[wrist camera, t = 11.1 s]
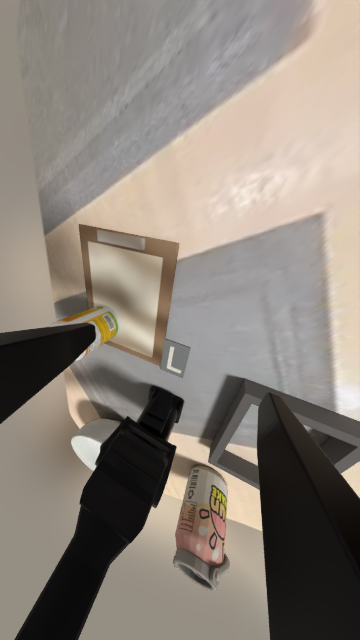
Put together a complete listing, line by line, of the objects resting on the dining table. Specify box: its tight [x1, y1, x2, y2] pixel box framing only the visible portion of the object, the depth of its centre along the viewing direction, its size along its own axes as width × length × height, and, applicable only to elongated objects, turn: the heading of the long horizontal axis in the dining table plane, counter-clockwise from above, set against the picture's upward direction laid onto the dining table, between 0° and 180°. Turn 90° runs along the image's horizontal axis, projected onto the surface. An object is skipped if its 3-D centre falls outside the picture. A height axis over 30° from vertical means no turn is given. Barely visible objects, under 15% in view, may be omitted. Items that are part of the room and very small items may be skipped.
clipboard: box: [79, 224, 179, 366], centre depth 22 cm, size 18×14×2 cm
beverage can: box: [173, 465, 230, 591], centre depth 28 cm, size 9×8×12 cm
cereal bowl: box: [71, 419, 121, 471], centre depth 36 cm, size 17×17×7 cm
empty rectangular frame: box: [208, 379, 360, 490], centre depth 22 cm, size 18×13×2 cm
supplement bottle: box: [49, 306, 120, 361], centre depth 20 cm, size 5×5×10 cm
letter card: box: [160, 339, 190, 378], centre depth 24 cm, size 6×4×1 cm, turn 170°
